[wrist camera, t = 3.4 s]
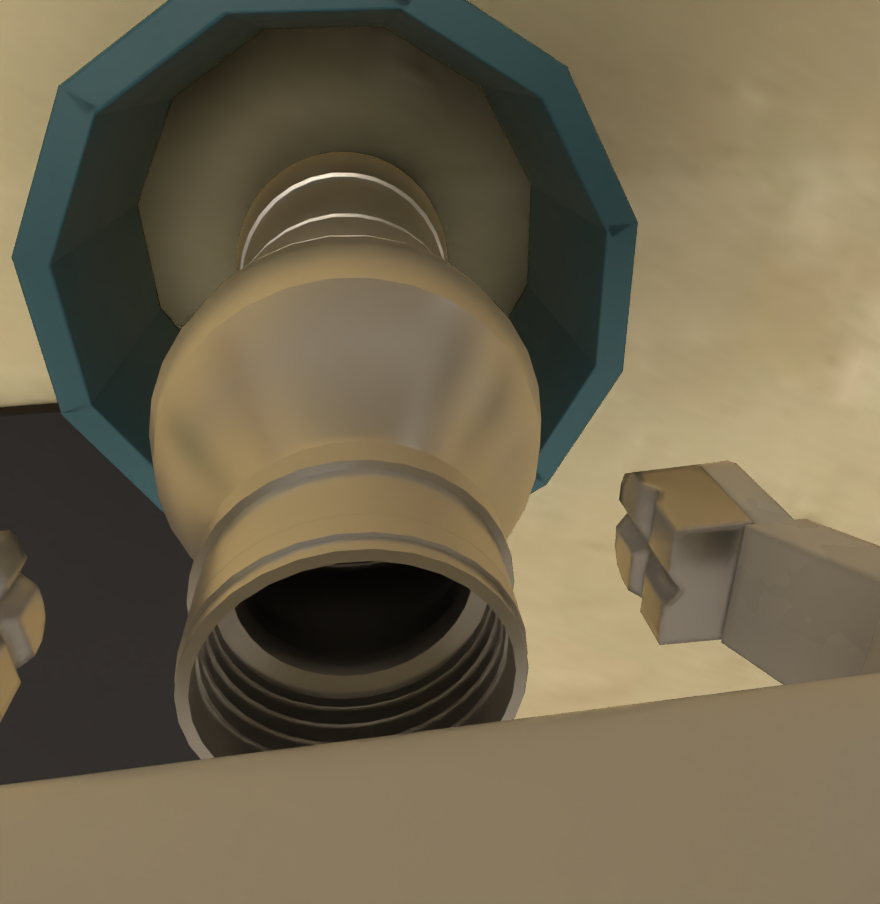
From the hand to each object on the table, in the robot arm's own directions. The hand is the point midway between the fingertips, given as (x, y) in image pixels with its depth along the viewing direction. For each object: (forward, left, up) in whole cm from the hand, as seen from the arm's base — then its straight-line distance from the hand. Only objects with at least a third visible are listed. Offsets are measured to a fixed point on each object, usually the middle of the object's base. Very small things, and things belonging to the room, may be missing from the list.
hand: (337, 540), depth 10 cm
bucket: (0, 0, -17) cm, 17 cm away
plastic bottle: (0, 0, -17) cm, 17 cm away
